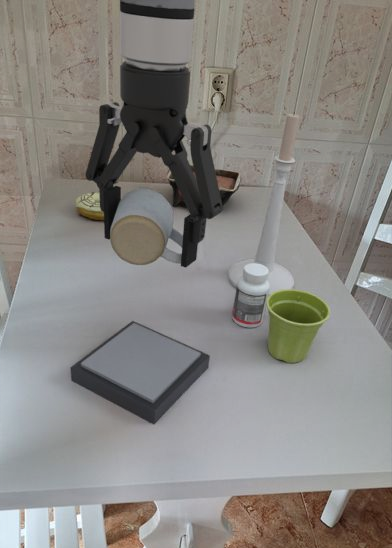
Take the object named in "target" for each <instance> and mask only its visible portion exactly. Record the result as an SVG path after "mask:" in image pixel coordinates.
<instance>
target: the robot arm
mask: <svg viewBox="0 0 392 548" xmlns="http://www.w3.org/2000/svg"><path fill="white" fill-rule="evenodd" d="M195 3H196V1H195V0H119V54H120V56H121V57H122V58H123V59H125V61H123V62H122V63H121V65H120V66H119V92H120V93H119V95H120V99H121V100H122V106H120V104H119V102H117V101H114V102H113V101H112V102H110V103H104V104H101V105H100V106H99V107H98V108H99V109H98V117H99V118H98V120H99V121H98V128H97V131H96V135H95V139H94V143H93V145H92V150H91V153H90V156H89V161H88V164H87V167H86V170H85V178H86V179H87V181H89V182H92V181H93V183H95V184H96V186H97V188H98V192H99V194H100V209H101V211H103V212H104V220H103V229H104V230H103V231H104V232H103V233H104V239H106V240H110V230H111V225H112V223H113V220H114V217H115V214H116V211H117V208H118V205H119V202H120V200H121V197H122V187H121V186H118V185H116V184H118V183H119V181H118V180H119V178H120V177H121V176H122V174H123V173H124V171H125V170H126V169H127V167H128V165H129V164H130V162H131V161H132V160H133V158H134V157H135V155H136V154H137V153H141V154H149V155H150V156H152V157H155V158H159V159H160V158H161V160H162V162H163V164H164V165H165V167H167V168H168V170H169V169H170V172H171V174H172V176H173V178H174V180H175V182H176V185H177V187H178V189H179V191H180V193H181V196H182V198H183V202H184V204H185V206H186V209H187V210H188V213H189V214H188V215H186V216H185V217H184V220H183V232H182V234H183V243H182V248H181V254H182V255H181V264H180V267H183V268H187V267H189V266H190V265H192V264H193V263H194V262H195V261H197V256H198V248H199V246H198V245H199V244H200V243H201V242H202V241H203V240H204V239H205V236H206V228H207V227H206V226H207V220H212V219H213V218H215V217H216V216H218V215H219V214H221V213H222V212H223V211H224V207H223V206H224V205H223V206H222V201H221V197H220V192H219V187H218V182H217V177H216V173H215V168H216V167H215V164H214V158H213V154H212V148H211V143H212V127H211V126H210V125H209V124H202V125H195V124H190V123H189V121H188V118H187V108H188V105H189V97H190V85H191V84H190V82H191V71H190V70H189V68H188V67H187V66H186V65H188V64H190V62H191V61H192V54H193V53H192V52H193V50H192V49H193V40H194V39H193V38H194V27H195V26H194V25H195ZM121 123H122V125H123V127H124V130H125V134H124V135H123V137H122V138H121V140H120V142H119V143H118V145H117V146H118V148H117V150H116V151H115V153H114V154H113V156H112V158H111V155H112V153H113V148H114V146H115V143H116V139H117V136H118V133H119V129H120V126H121ZM184 138H186V139H187V140H186V144H187V145H188V146H190V157H191V161H192V164H193V166H194V171H195V175H196V178H195V175H194V173H193V171H192V169H191V166H190V164H191V163H190V162H189V160H188V151H187V150H186V146H185V145H184V141H182V140H183V139H184ZM173 152H174V153H175V154H173ZM110 158H111V159H110Z"/></svg>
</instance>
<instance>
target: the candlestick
mask: <svg viewBox="0 0 392 548" xmlns="http://www.w3.org/2000/svg"><path fill="white" fill-rule="evenodd" d="M300 118H301V117H300V115H299V114H296V113H295V112H293V113H287V115H286V119H285V123H284V129H283V134H282V138H281V139H282V140H281V144H280V150H279V154H278V155H275V156H274V157H273V159H274V160H275V166H274V169H275V171H276V177H275V178H274V180H273V185H272V189H271V193H270V198H269V201H268V206H267V210H266V214H265V218H264V222H263V226H262V230H261V235H260V239H259V243H258V246H257V250H256V255H255V258H249V259H244V260H240V261H238V262H236V263H234V264H232V265H231V266H230V268H229V269H228V271H227V278H228V281H229V283H230V284H231V285H232V286H233V287H234V288H236V287H237V282H238V280H239V278H240V277H242V276H243V269H244V266H245V265H247V264H250V263H257V264H261V265H264V266H265V267H267V268H268V271H269V273H268V278H267V281H268V282H269V284H270V290H269V294H268V296H269V295H270V294H272V293H273V292H276V291H279V290H285V289H293V290H294V286H295V278H294V276H293V275H292V274H291V272H290V271H289V270H288V269H287V268H285V267H284V266H283V265H281V264H279V263H277V262H274V261H275V256H276V249H277V242H278V236H279V229H280V224H281V217H282V210H283V204H284V197H285V191H286V186H287V180H286V179H287V176H288V173H289V172H290V171H291V170H292V165H293V164H294V163H296V159H295V158H294V157H293V156H292V155H293V151H294V147H295V142H296V137H297V131H298V127H299V123H300Z"/></svg>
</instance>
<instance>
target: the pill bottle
mask: <svg viewBox="0 0 392 548" xmlns="http://www.w3.org/2000/svg"><path fill="white" fill-rule="evenodd" d="M268 273H269V271H268V268H267V267H265V266H264V265H261V264H257V263H250V264H247V265H245V266H244V269H243V276H242V277H240V278H239V280H238V282H237V287H235V288H236V289H235V293H234V301H233V307H232V312H231V313H232V314H231V318H232V321H233V322H234V323H235V324H236V325H238V326H240V327H242V328H243V327H244V328H248V329H249V328H250V329H251V328H257V327H259V326H260V325H262V323H263V322H264V318H265V314H266V313H265V312H266V308H267V306H266V301H267V298H268V294H269V290H270V284H269V282H268V281H267V278H268Z"/></svg>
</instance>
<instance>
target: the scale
mask: <svg viewBox="0 0 392 548" xmlns="http://www.w3.org/2000/svg"><path fill="white" fill-rule="evenodd" d="M210 357H211V355H210V354H208V353H206V352H203V351H201V350H199V349H196V348H194V347H192V346H190V345H188V344H185V343H184V342H181V341H179V340H178V339H177V340H176V339H174V338H172V337H170V336H168V335H165V334H163V333H161V332H159V331H157V330H154V329H152V328H150V327H147V326H145V325H143V324H141V323H139V322H137V321H135V320H132V321H131V322H129V323H127V324H126V325H125V326H123V328H121V329H120V330H118V331H117V332H115V333H114V334H113V335H111V336H110V337H109V338H108V339H106V340H105V341H103V342H102V343H101V344H100V345H98V346H97V347H96V348H94V349H93V350H91V351H90V352H89V353H88V354H86V355H85V356H83V357H82V358H81V359H79V360H78V361H77V362H75V363H73V365H72V366H70V369H69V371H70V380H71V381H72V382H74V383H76V384H78V385H79V386H81V387H83V388H85V389H87V390H89V391H91V392H92V393H94V394H96V395H98V396H100V397H102V398H104V399H106V401H107V400H108V401H110V402H111V403H113V404H115V405H117V406H118V407H121V408H122V409H124V410H126V411H127V412H130V413H132V414H133V415H135V416H138V417H139V418H141V419H143V420H144V421H146V422H148V423H150V424H152V425H155V424H156V423H157V422H158V421H159V420H160V419H161V418H163V416H164V415H165V414H166V413H167V412H168V411H169V409H170V408H171V407H172V406H173V405H174V404H175V403H176V402H177V401H179V399H180V398H181V397H182V396H183V395H184V394H185V393H186V392H187V391H188V390H189V389H190V387H191V386H192V385H193V384H194V383H196V381H197V380H198V379H199V378H200V377H201V376H202V375H203V374H204V373H205V372H206V371H207V369H209V365H210Z"/></svg>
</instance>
